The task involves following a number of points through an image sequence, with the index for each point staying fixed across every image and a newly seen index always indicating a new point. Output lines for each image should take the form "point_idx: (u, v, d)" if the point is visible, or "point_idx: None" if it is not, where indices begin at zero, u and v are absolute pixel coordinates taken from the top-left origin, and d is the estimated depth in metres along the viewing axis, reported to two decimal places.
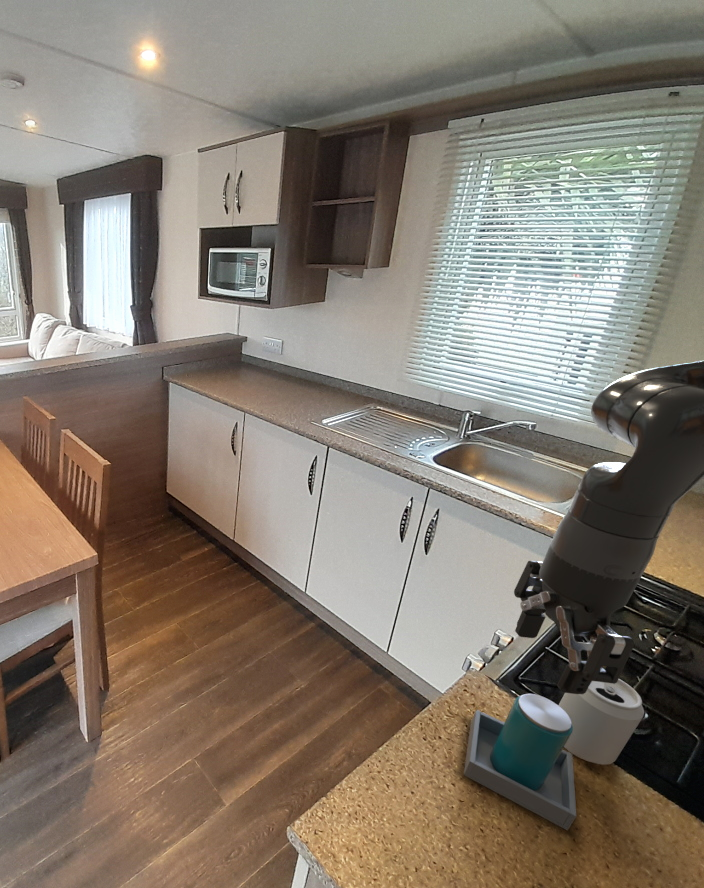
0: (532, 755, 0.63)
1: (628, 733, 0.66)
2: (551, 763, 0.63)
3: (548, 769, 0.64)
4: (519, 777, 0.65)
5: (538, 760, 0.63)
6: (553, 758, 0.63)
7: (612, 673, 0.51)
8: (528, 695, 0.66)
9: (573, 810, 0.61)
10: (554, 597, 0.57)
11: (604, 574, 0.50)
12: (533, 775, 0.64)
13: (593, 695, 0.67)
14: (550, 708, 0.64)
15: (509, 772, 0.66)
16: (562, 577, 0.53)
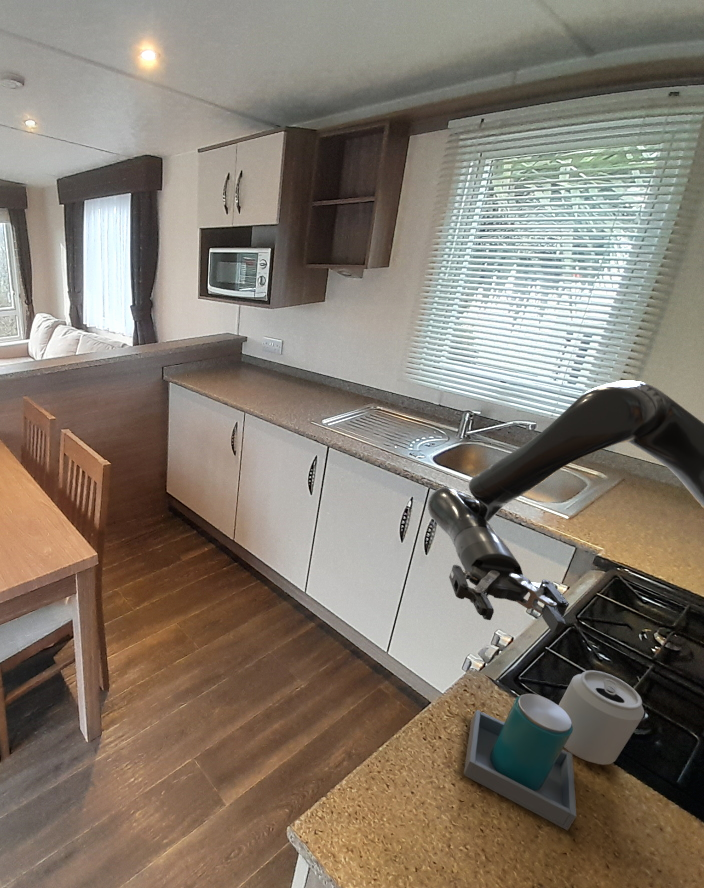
0: (532, 755, 0.63)
1: (628, 733, 0.66)
2: (551, 763, 0.63)
3: (548, 769, 0.64)
4: (519, 777, 0.65)
5: (538, 760, 0.63)
6: (553, 758, 0.63)
7: None
8: (528, 695, 0.66)
9: (573, 810, 0.61)
10: None
11: (460, 560, 0.86)
12: (533, 775, 0.64)
13: (593, 695, 0.67)
14: (550, 708, 0.64)
15: (509, 772, 0.66)
16: None
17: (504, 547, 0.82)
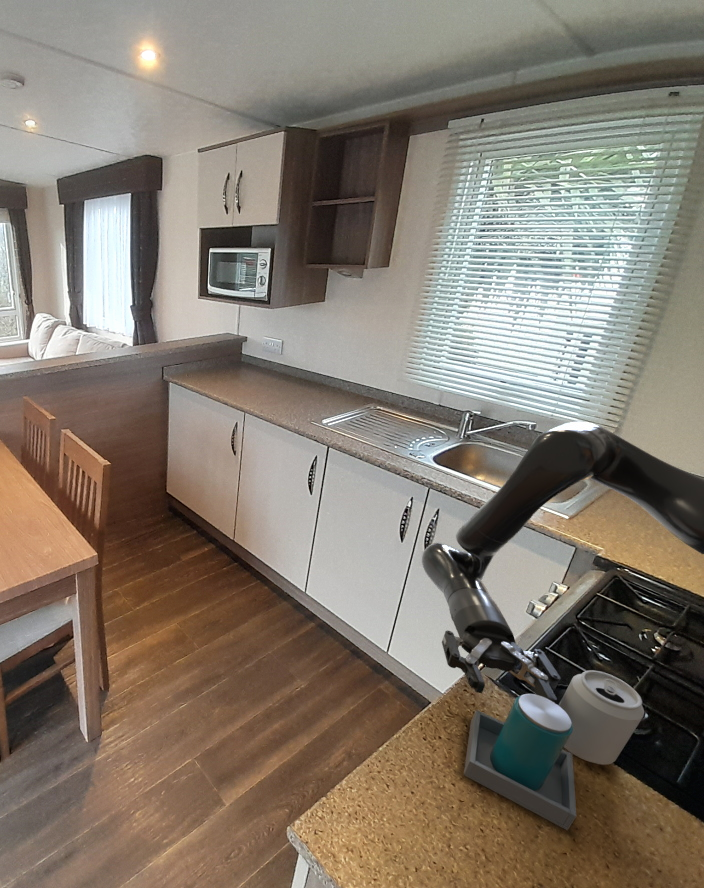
0: (532, 755, 0.63)
1: (628, 733, 0.66)
2: (551, 763, 0.63)
3: (548, 769, 0.64)
4: (519, 777, 0.65)
5: (538, 760, 0.63)
6: (553, 758, 0.63)
7: None
8: (528, 695, 0.66)
9: (573, 810, 0.61)
10: None
11: None
12: (533, 775, 0.64)
13: (593, 695, 0.67)
14: (550, 708, 0.64)
15: (509, 772, 0.66)
16: None
17: (497, 613, 0.82)
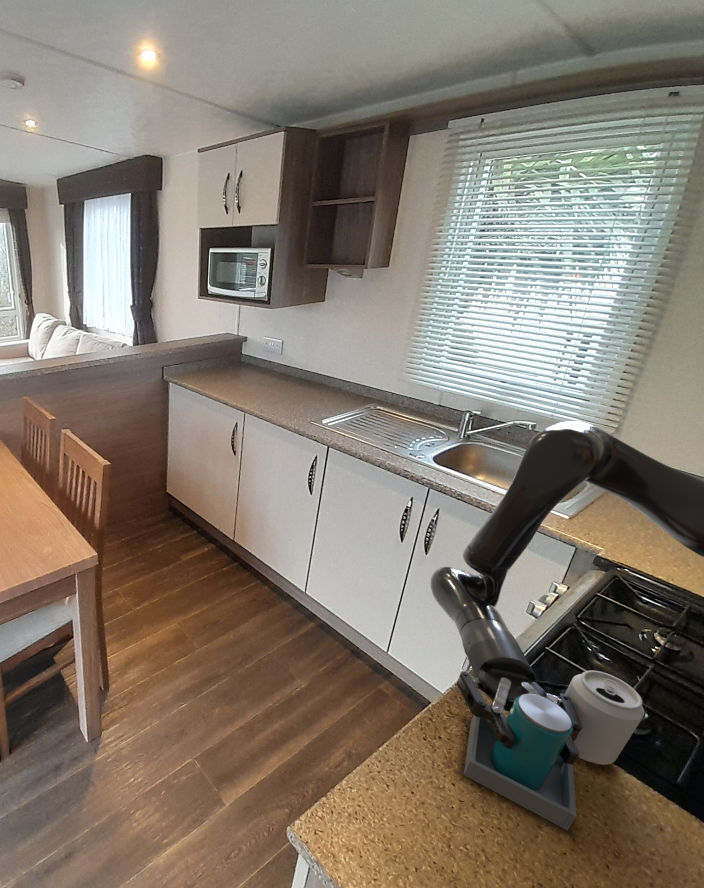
0: (532, 755, 0.63)
1: (628, 733, 0.66)
2: (551, 763, 0.63)
3: (548, 769, 0.64)
4: (519, 777, 0.65)
5: (538, 760, 0.63)
6: (553, 758, 0.63)
7: None
8: (528, 695, 0.66)
9: (573, 810, 0.61)
10: None
11: (467, 656, 0.79)
12: (533, 775, 0.64)
13: (593, 695, 0.67)
14: (550, 708, 0.64)
15: (509, 772, 0.66)
16: None
17: (515, 648, 0.75)
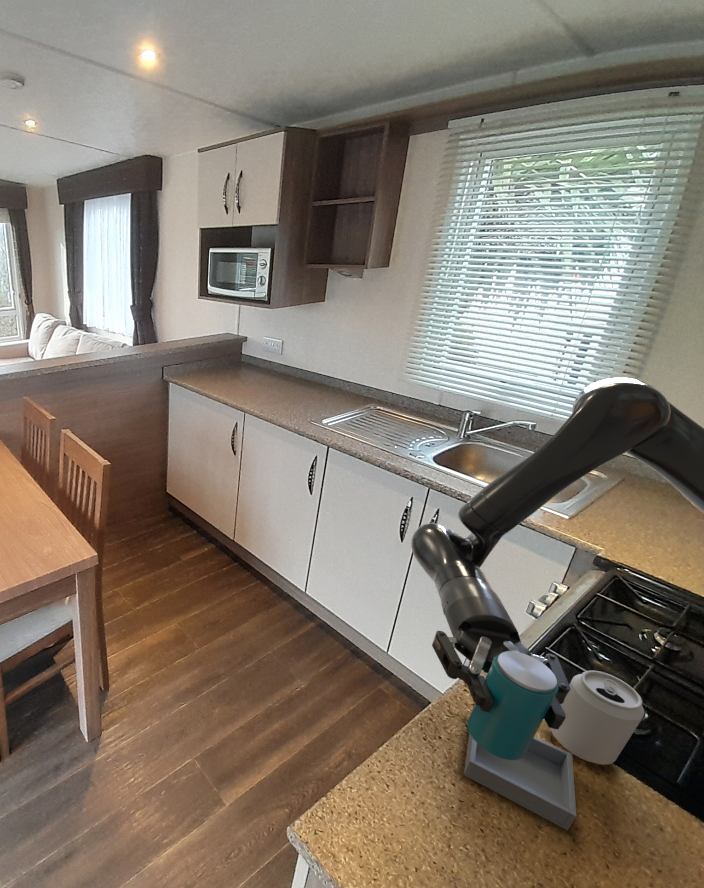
0: (513, 718, 0.56)
1: (628, 733, 0.66)
2: (534, 728, 0.56)
3: (531, 735, 0.56)
4: (498, 745, 0.58)
5: (519, 724, 0.56)
6: (536, 722, 0.55)
7: None
8: (509, 652, 0.58)
9: (573, 810, 0.61)
10: None
11: None
12: (513, 742, 0.57)
13: (593, 695, 0.67)
14: (533, 666, 0.56)
15: (487, 739, 0.59)
16: None
17: (498, 606, 0.67)
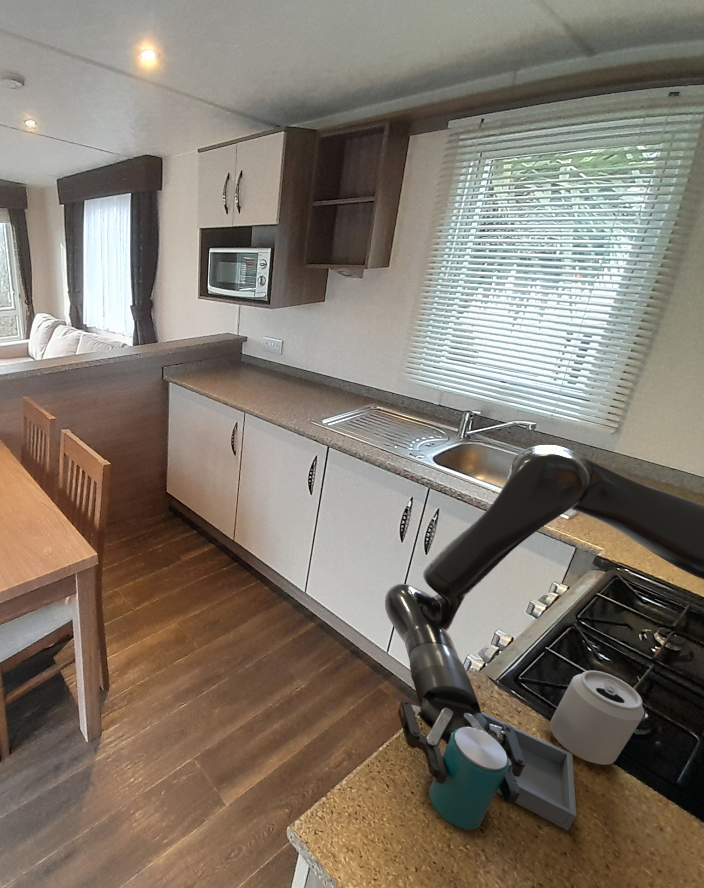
0: (468, 793, 0.60)
1: (628, 733, 0.66)
2: (487, 802, 0.60)
3: (485, 808, 0.60)
4: (456, 815, 0.62)
5: (473, 798, 0.60)
6: (489, 797, 0.59)
7: None
8: (465, 728, 0.62)
9: (573, 810, 0.61)
10: None
11: None
12: (469, 814, 0.61)
13: (593, 695, 0.67)
14: (487, 743, 0.60)
15: (446, 809, 0.63)
16: None
17: (461, 676, 0.71)
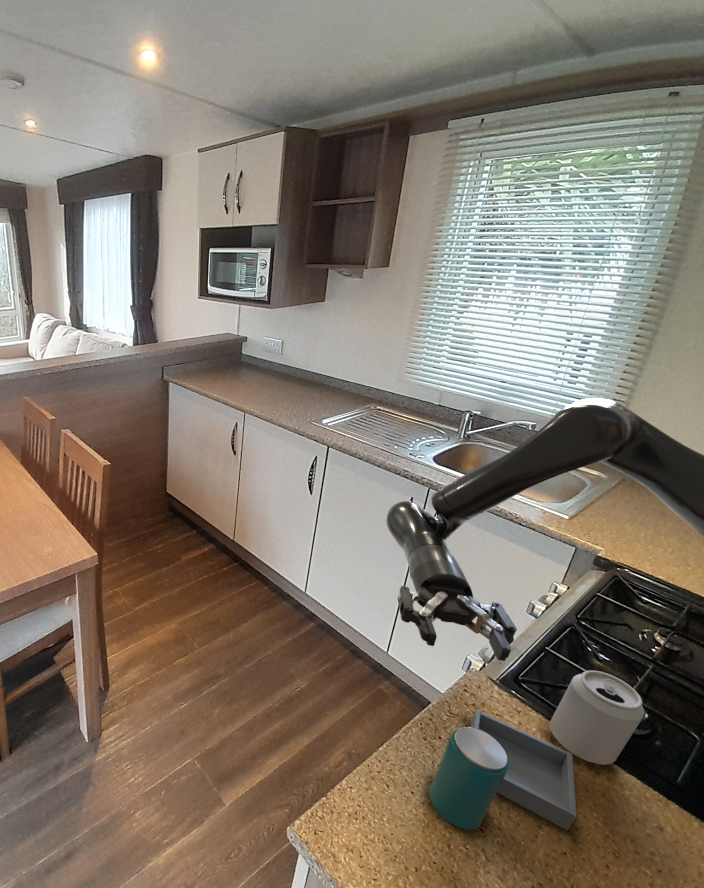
0: (468, 793, 0.60)
1: (628, 733, 0.66)
2: (487, 802, 0.60)
3: (485, 808, 0.60)
4: (456, 815, 0.62)
5: (473, 798, 0.60)
6: (489, 797, 0.59)
7: None
8: (465, 728, 0.62)
9: (573, 810, 0.61)
10: None
11: (412, 579, 0.82)
12: (469, 814, 0.61)
13: (593, 695, 0.67)
14: (487, 743, 0.60)
15: (446, 809, 0.63)
16: None
17: (455, 567, 0.78)
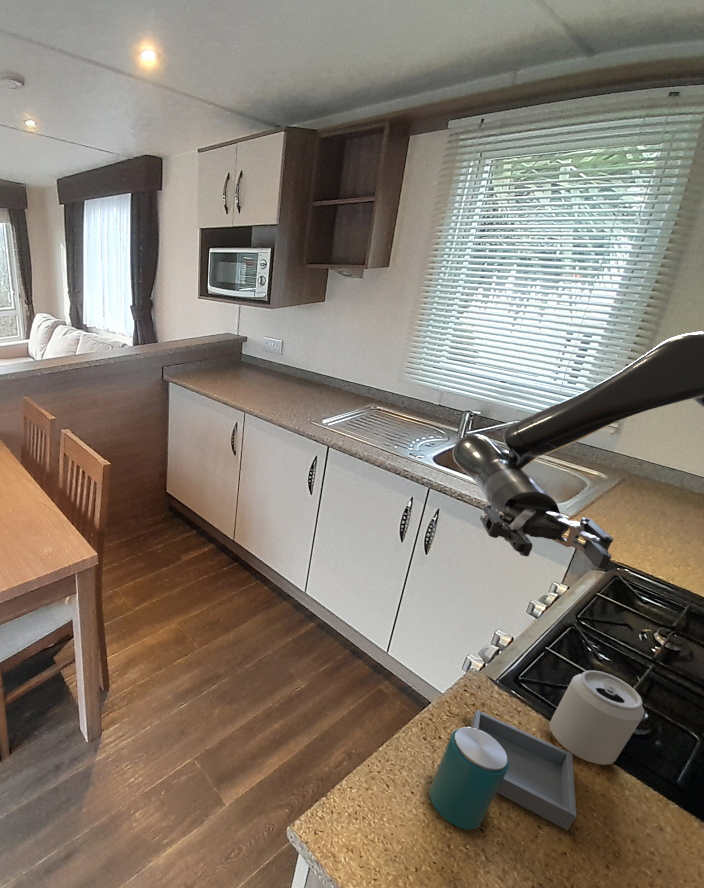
0: (468, 793, 0.60)
1: (628, 733, 0.66)
2: (487, 802, 0.60)
3: (485, 808, 0.60)
4: (456, 815, 0.62)
5: (473, 798, 0.60)
6: (489, 797, 0.59)
7: None
8: (465, 728, 0.62)
9: (573, 810, 0.61)
10: None
11: (490, 503, 0.81)
12: (469, 814, 0.61)
13: (593, 695, 0.67)
14: (487, 743, 0.60)
15: (446, 809, 0.63)
16: None
17: (539, 486, 0.77)
